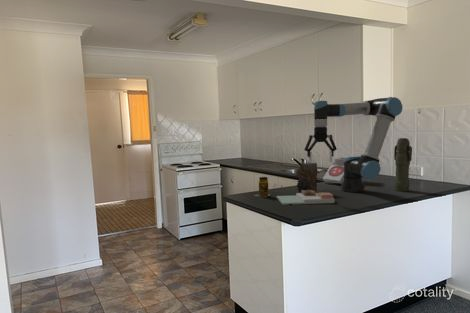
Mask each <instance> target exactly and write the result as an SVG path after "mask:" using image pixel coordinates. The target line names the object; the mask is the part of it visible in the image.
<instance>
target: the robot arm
mask: <svg viewBox="0 0 470 313" xmlns="http://www.w3.org/2000/svg"><path fill="white" fill-rule="evenodd" d="M313 110H314V112H313V113H314V114H313V116H314V117H313V118H314V122H313V124H314V129H313V132H314V134H313V135H311V134H309V135H308V139H307V142H306V144H305V148H304V151H306V152H307V155H306V156H307V158H308V162H309V163H312V149H313V148H314V147H315V145H316V144H317V143H324V144H325V145H326V146H327V147H328V149H329V153H328V155H329V156H328V160H329V161H328V162H329V163H333V157H334V155H335V154H334V153H335V151H337V146H336V143H335V142H334V139H333V134H328V127H327V126H328V118H332V117H333V118H336V117H338V118H340V117H344V116H353V115H355V116H356V115H363V116H374V117H376V120H375V123H374V126H373V127H372V128H373V129H372V132H371V134H370V137H369V140H368V143H367V145H366V148H365V151H364V153H362V154H361V155H359V156H346V157H345V156H344V157H345V159H344V180H343V182H342V184H340V190H341V191H343V192H347V193H348V192H349V193H363V192H365V186H364V183H363V178H364V179H370V180H372V179H374V178H376V177H378V176H379V174H380V172H381V169H382V168H381V165H380V159H379V155H380V154H381V150H382V147H383V144H384V143H385V139H386V136H387V134H388V131H389V128H390V126H391V124H392V122H395V120H396V117H397V116H399V115H401V113H402V112H403V104H402V101H401V100H400V98H397V97H394V96H393V97H392V96H388V97H381V98H380V97H379V98H374V99H370V100H363V101H362V102H352V103H351V102H350V103H331V104H329V103H328V101H327V100H316V101H315V102H314V108H313ZM313 138H314V140H313ZM328 139H329V141H328ZM312 140H313V142H312ZM311 142H312V143H311Z"/></svg>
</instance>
